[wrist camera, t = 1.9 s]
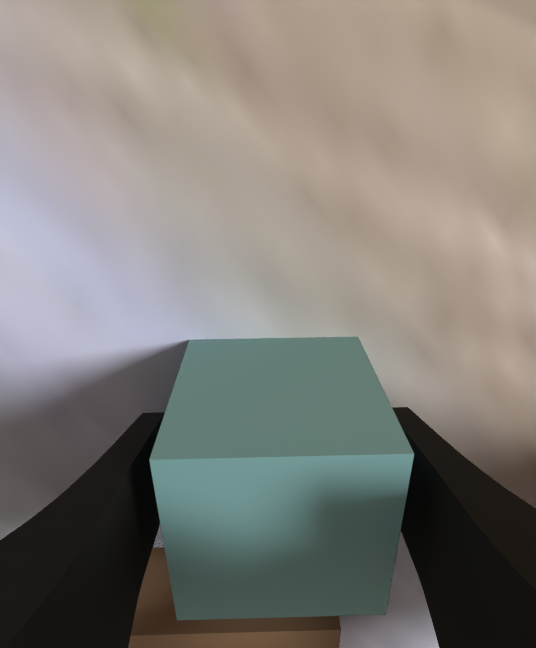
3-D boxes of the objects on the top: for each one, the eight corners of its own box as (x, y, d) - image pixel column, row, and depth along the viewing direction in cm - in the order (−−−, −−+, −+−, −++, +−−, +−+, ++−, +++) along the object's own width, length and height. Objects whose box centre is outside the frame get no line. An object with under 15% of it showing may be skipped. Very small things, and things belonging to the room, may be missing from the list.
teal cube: (357, 335, 12) (414, 453, 8) (346, 463, 14) (385, 614, 10) (189, 338, 12) (149, 459, 8) (202, 466, 14) (177, 620, 10)
